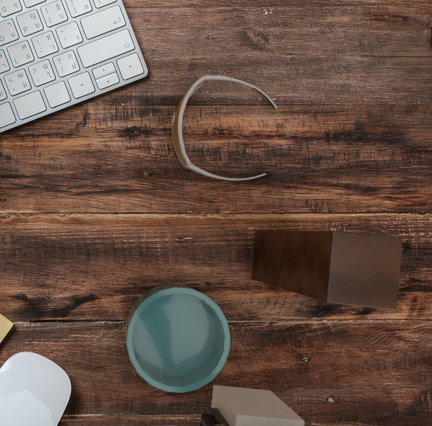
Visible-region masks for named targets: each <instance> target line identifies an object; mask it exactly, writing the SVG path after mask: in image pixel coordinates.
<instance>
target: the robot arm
mask: <svg viewBox="0 0 432 426" xmlns="http://www.w3.org/2000/svg"><path fill="white" fill-rule="evenodd" d="M199 423H200V424H199V426H230V425H229V424H228V423H227V421H226V420H225V418H224V417H223V415H222V414H221V413H220V411H219V410H218V408H211V407H210V406H209V407H207V408H206V413H205V412H202V413H201V415H200V422H199Z"/></svg>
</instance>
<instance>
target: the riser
mask: <svg viewBox="0 0 432 426" xmlns="http://www.w3.org/2000/svg"><path fill="white" fill-rule="evenodd" d="M403 240H404V239H403V238H402V237H394V236H393V237H392V236H385V235H384V236H383V235H375V234H365V233H357V232H347V231H339V230H266V229H265V230H260V229H258V230H256V231H255V238H254V250H253V259H252V268H251V269H252V271H251V280H252V281H256V282H259V283H262V284H266V285H269V286H273V287H275V288H278V289H281V290H285V291H289V292H291V293H294V294H298V295H301V296H304V297H308V298H311V299H314V300H317V301H320V302H323V303H326V304H332V305H333V304H334V305H344V306H352V307H353V306H355V307H363V308H373V309H374V308H375V309H381V310H382V309H383V310H392V311H393V310H394V311H397V310H398V301H399V291H400V290H399V289H400V278H401V277H400V276H401V267H402V266H401V263H402V254H403V253H402V252H403Z"/></svg>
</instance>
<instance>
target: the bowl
mask: <svg viewBox="0 0 432 426" xmlns="http://www.w3.org/2000/svg"><path fill="white" fill-rule="evenodd" d="M123 333H124V334H123V338H124V342H125V347H126V352H127V355H128V358H129V361H130V363H131V364H132V366H133V368H134V370H135V371H136V373H137V375H138V376H140V377H141V378H142V379H143V380H144V381H145V382H146V383H148V384H149V386H152V387H154V388H156V389H159V390H161V391H163V392H168V393H175V394H176V393H178V394H183V393H187V392H192V391H197V390H199V389H201V388H203V387H204V386H206V385H207V384H209V383H211V382H212V381H213V380H214V379H215V377H217V376H218V374H219V373H221V371H222V370H223V368H224V366H225V363H226V362H227V359H228V357H229V354H230V347H231V338H232V337H231V332H230V327H229V322H228V319H227V318H226V316H225V314H224V312H223V310H222V309H221V307H220V306H219V304H217V303H216V302H215V301H214V300H213V299H212V298H211V297H210V296H208V294H206V293H204V292H202V291H200V290H198V289H196V288H193V287H192V286H189V285H187V284H182V283H172V282H170V283H163V284H159V285H156V286H153V287H151V288H149V289H147V290H146V291H144V292H143V293H142V294H141V295H140V296H138V298H137V299H136V300H135V301H134V302H133V303H132V305H131V306H130V308H129V311H128V312H127V315H126V317H125V322H124V331H123Z"/></svg>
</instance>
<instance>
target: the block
mask: <svg viewBox="0 0 432 426" xmlns="http://www.w3.org/2000/svg"><path fill="white" fill-rule="evenodd" d="M211 395H212V396H211V407H210V408H218V410H219V411H220V413H221V414H222V415H223V417H224V418H225V420H226V421H227V423H228V424H229V425H230V426H305V423H306V422H305V420H304V419H303V418H302V417H301V416H299V415H298V414H297V412H296V411H294V409H292V408H290V406H288V405H287V404H286V403H285V402H284V401H283V400H282V399H281V398H279V396H277V395H276V394H275V393H274V392H273V391H272V390H270V389H260V388H259V389H258V388H249V387H239V386H238V387H237V386H228V385H220V384H219V385H217V384H213V386H212V394H211Z"/></svg>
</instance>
